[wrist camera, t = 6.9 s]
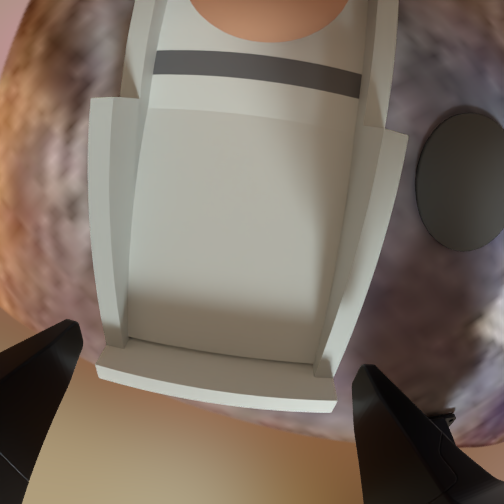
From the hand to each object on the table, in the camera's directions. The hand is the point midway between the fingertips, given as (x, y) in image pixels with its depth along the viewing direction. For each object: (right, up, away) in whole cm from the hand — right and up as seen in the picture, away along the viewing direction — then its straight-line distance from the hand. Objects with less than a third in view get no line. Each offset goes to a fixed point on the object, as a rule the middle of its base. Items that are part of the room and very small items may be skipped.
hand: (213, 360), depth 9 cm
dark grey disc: (+12, +6, +3) cm, 14 cm away
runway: (+1, +8, +3) cm, 9 cm away
